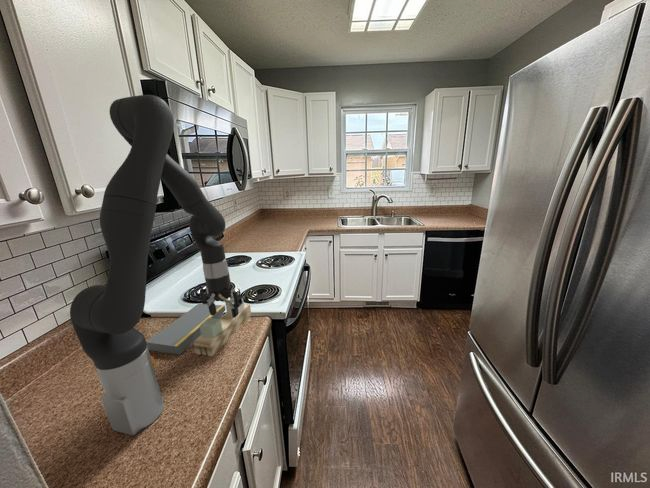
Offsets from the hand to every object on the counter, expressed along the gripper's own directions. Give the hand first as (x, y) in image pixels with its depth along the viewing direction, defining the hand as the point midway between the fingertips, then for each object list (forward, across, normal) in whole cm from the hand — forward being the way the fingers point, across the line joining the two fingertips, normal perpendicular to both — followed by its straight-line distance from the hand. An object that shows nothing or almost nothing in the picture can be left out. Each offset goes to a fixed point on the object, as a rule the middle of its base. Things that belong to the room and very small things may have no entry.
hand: (224, 315), depth 91 cm
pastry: (+6, -13, -22) cm, 26 cm away
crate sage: (+2, 0, -7) cm, 8 cm away
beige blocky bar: (+7, 0, 0) cm, 7 cm away
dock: (+6, -14, -2) cm, 15 cm away
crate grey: (+2, 0, +6) cm, 7 cm away
